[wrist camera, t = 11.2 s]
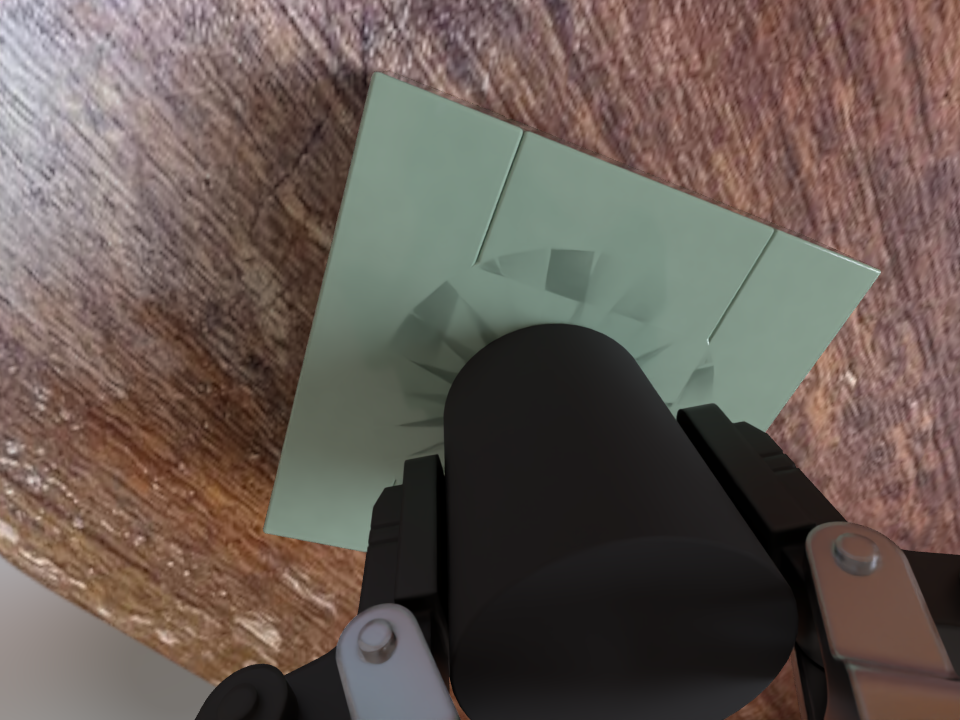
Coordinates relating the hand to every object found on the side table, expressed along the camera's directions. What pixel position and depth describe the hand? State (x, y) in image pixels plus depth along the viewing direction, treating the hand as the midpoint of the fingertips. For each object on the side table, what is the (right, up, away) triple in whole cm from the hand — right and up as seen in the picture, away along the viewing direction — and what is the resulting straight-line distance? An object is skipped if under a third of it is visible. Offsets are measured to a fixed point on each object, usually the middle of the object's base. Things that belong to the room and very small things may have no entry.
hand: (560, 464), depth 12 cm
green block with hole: (0, +2, +4) cm, 5 cm away
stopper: (0, +2, +4) cm, 5 cm away
